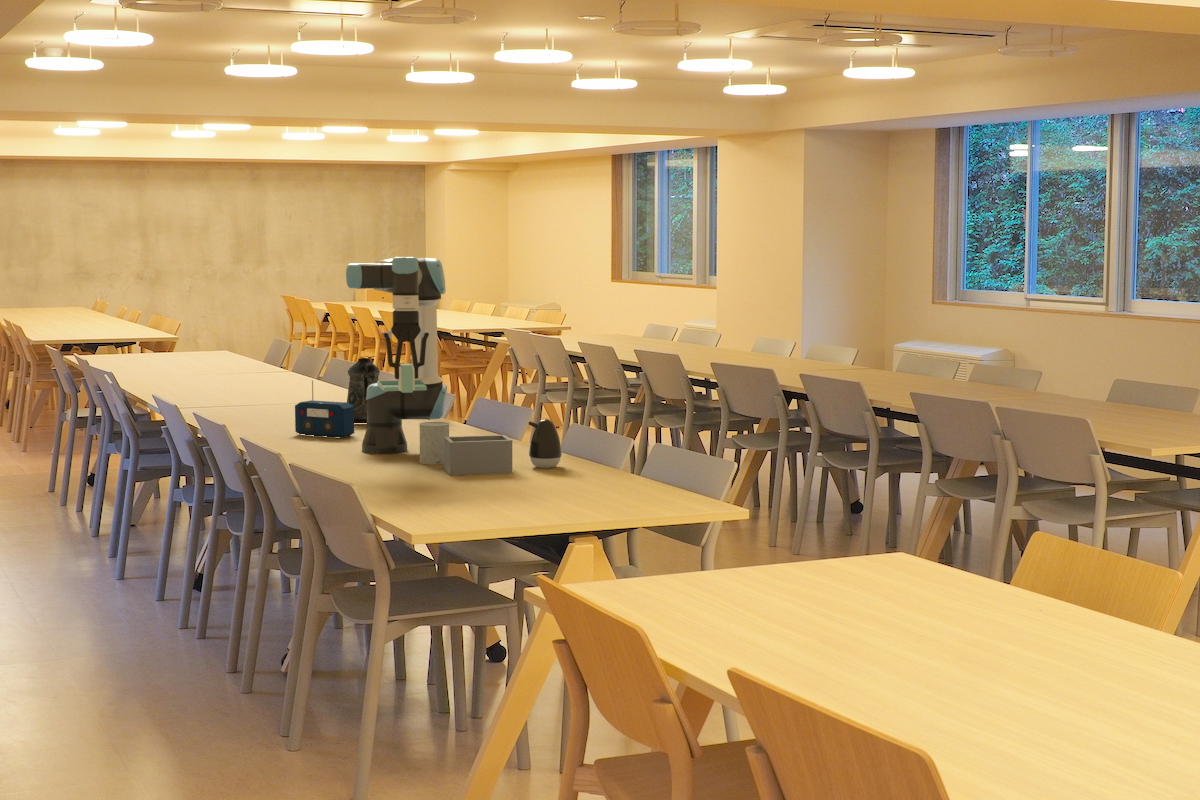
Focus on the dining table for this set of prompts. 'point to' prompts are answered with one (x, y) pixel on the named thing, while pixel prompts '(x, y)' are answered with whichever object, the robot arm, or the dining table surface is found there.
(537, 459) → the pump dispenser
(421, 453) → the grey speckled cylinder
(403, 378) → the ridged green paddle
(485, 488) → the dining table surface
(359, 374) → the beer stein
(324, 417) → the radio
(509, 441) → the tub
